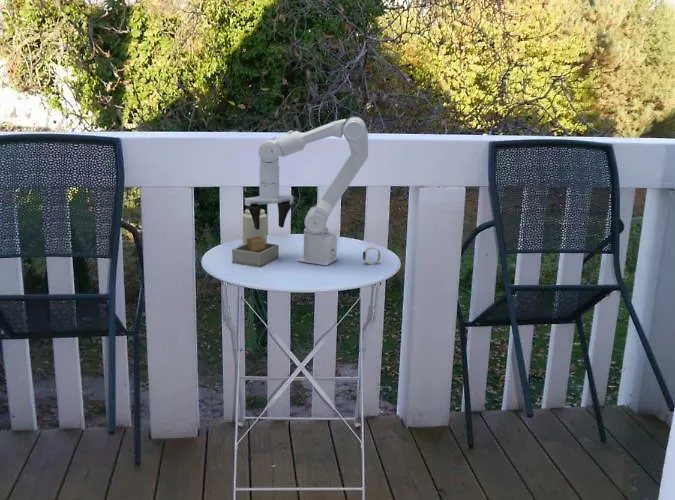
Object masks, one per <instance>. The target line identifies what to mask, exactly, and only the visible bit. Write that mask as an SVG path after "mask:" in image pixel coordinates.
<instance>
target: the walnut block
mask: <svg viewBox="0 0 675 500" xmlns="http://www.w3.org/2000/svg"><path fill="white" fill-rule="evenodd" d="M264 250H265V239H263V238H261V237H259V236H257V237H250V238H247V251H250V252H257V253H260V252H262V251H264Z"/></svg>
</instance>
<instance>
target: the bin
mask: <svg viewBox="0 0 675 500" xmlns="http://www.w3.org/2000/svg"><path fill="white" fill-rule="evenodd" d="M279 247H280V245H279V244H275V243H269V242H267V243H265V250H264V251H262V252H260V253H257V252H250V251H247V243H246V244H244V245H243V244H242V245H238V246H237V247H235V248H232V249H231V250H232V254H231V255H232V256H231V257H232V258H231V261H232V263H233V264H238V265H245V266H251V267H256V268H257V267H258V268H260V267H263V266H265V265H267V264H269V263H271V262H274V260H277V259H279V253H280V252H279Z"/></svg>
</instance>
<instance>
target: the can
mask: <svg viewBox="0 0 675 500" xmlns="http://www.w3.org/2000/svg"><path fill="white" fill-rule="evenodd" d="M259 220H260V228H259V230H257V229H255V227H254V222H253V219H252V216H251V213H250V211H249V209H248V208H246V209H245V210H244V213H243V214H242V245H244V244H246V243H247V238H250V237H257V236H259V237H261V238H263V239H265V243H268V215H267V214H266V213H265V209H262V208H261V211H260V219H259Z"/></svg>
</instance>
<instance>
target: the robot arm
mask: <svg viewBox="0 0 675 500" xmlns="http://www.w3.org/2000/svg"><path fill="white" fill-rule="evenodd" d="M343 136H344V137H343ZM328 137H335V138H339V139H343V138H345V141H346V142H347V143H348V147H349V151H350V155H349V156H348V157H347V159H346V161H345V162H344V164H343V165H342V167H341V168H340V170H339V172H338V173H337V175H336V176H335V177H334V179H333V180H332V182H331V183H330V185H329V186H328V188H327V189H326V190H325V192H324V194H323V195H322V196H321V198H320V199H319V200H318V202H317V203H316V204H315V205H314V206H312V207H310V208H309V210H308V211H307V213H306V217H305V218H304V227H305V228H304V229H303V256H302V257H300V258H299V259H298V260H297V262H299V263H300V262H301V263H307V264H314V265H319V266H328V265H330V264H332V263H333V262H335V261H337V260H338V257H337V250H338V249H337V248H338V247H337V246H338V245H337V244H338V239H337V235H336V234H334V233H332V232H329V228H328V227H327V221H328V219H329V216H330V215H331V213H332V211H333V210H334V208H335V207H336V205H337V204H338V202H339V201H340V199H341V198H342V196H344V195H343V194H345V192H346V190H347V189H349V188H348V187H350V184H351V183H352V181H353V180H354V179H355V177H356V176H357V175H358V173H359V171H360V170H361V169H362V167H363V166H364V165H365V162H366V161H367V159H368V157H369V131H368V129H367V125H366V123H365V121H364V120H363V119H362V118H361V117H358V116H351V117H349V118H348V119H347V118H344V119H338V120H334V121H330V122H329V123H327V124H323V125H321V126H318V127H315V128H313V129H311V130H307V131H305V132H304V133H303V132H301V131H298V130H295V131H294V130H288V131H287V133H286V134H283V135H280V136H278V137H277V136H273V137H272V138H271V139H268V140H265V141H264V142H262V144H261V145H259V147H258V156H259V195H258V196H253V197H251V196H250V197H244V205H245V206H246V207H247V209H249V211H250V213H251V216H252V219H253V222H254V227H255V229H257V230H259V228H260V220H259V219H260V211H261V209H262V208H261V207H260V206H259V205H271V204H273V205H274V204H277V211H278V220H277V221H278V227H280V228H284V226H285V222H286V219H287V216H288V214H289V212H290V211H291V208H292V203H294V195H291V194H287V195H285V194H281V195H280V165H279V163H280V158H279V157H282V158H284V157H287V156H290V155H292V154H296V153H298V152H301V151H304V149H305V147H306V145H307V144H311V143H314V142H318V141H319V140H323V139H327V138H328ZM342 137H343V138H342Z"/></svg>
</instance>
